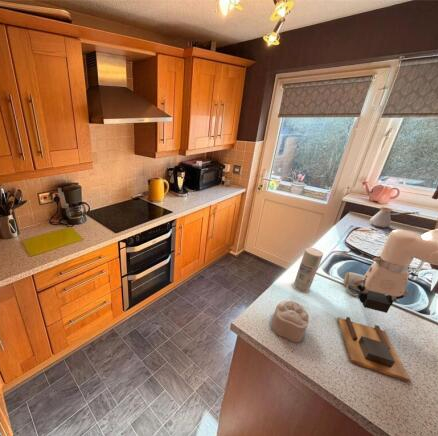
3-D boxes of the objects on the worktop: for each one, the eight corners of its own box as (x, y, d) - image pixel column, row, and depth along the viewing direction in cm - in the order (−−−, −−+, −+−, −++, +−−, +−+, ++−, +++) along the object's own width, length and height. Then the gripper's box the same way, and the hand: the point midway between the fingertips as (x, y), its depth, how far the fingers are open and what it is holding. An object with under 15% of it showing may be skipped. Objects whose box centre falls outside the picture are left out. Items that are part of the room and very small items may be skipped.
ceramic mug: (341, 280, 112) (347, 267, 109) (363, 287, 108) (370, 274, 105) (342, 292, 105) (348, 279, 101) (366, 300, 100) (373, 287, 97)
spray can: (312, 289, 107) (326, 253, 98) (304, 294, 104) (318, 257, 95) (297, 281, 112) (309, 246, 103) (290, 286, 109) (302, 250, 100)
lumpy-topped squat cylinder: (269, 330, 86) (274, 313, 83) (275, 308, 96) (280, 292, 92) (301, 345, 81) (309, 328, 77) (304, 320, 91) (311, 304, 87)
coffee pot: (367, 225, 168) (375, 206, 161) (369, 220, 175) (377, 202, 168) (409, 235, 154) (420, 215, 147) (409, 230, 161) (420, 210, 154)
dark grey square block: (379, 301, 89) (384, 293, 88) (386, 313, 84) (391, 304, 82) (358, 296, 92) (362, 288, 90) (364, 307, 87) (368, 299, 85)
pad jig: (383, 333, 86) (388, 325, 84) (408, 381, 70) (415, 373, 68) (337, 319, 91) (341, 311, 89) (351, 362, 76) (355, 353, 74)
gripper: (364, 263, 81) (347, 302, 88) (433, 277, 74) (408, 318, 81) (357, 253, 87) (342, 290, 94) (420, 264, 80) (398, 303, 87)
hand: (372, 302), depth 88 cm, fingers closed on dark grey square block, 6 cm apart
